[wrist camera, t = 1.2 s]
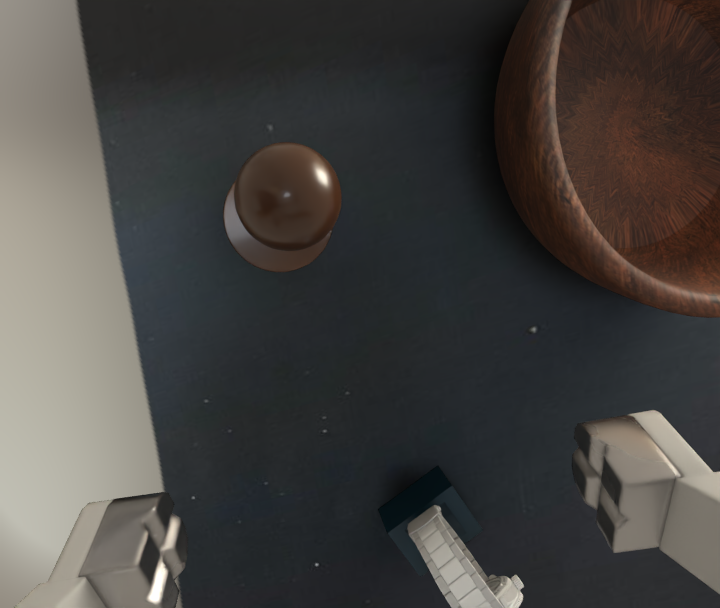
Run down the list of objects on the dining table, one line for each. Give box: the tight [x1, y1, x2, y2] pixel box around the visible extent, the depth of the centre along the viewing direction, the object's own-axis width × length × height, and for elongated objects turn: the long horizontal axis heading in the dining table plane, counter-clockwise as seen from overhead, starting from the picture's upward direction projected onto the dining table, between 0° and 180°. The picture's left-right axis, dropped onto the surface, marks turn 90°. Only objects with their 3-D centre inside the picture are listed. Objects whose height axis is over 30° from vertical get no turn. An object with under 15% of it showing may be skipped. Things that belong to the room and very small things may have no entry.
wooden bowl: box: [494, 0, 720, 318], centre depth 33 cm, size 25×25×10 cm
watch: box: [378, 466, 524, 608], centre depth 34 cm, size 6×8×11 cm
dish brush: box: [223, 142, 342, 272], centre depth 23 cm, size 6×6×23 cm
